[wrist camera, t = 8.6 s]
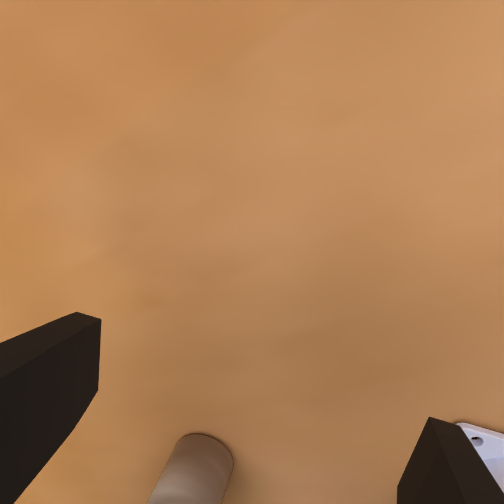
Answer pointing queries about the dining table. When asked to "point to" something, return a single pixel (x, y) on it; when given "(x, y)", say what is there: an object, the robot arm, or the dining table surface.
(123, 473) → the dining table surface
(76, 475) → the dining table surface
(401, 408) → the dining table surface
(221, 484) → the sliding frame
